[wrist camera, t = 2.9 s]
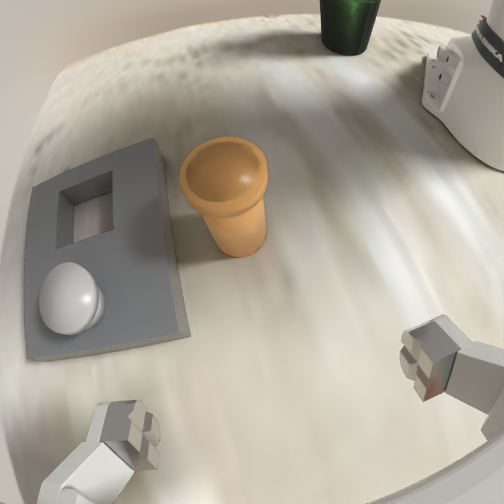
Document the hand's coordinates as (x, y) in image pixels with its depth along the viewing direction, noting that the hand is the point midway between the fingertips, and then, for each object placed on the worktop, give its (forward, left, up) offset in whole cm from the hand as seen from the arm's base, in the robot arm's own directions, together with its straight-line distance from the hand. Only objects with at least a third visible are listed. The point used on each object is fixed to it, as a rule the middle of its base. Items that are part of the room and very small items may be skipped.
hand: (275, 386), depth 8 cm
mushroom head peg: (-10, -6, -14) cm, 18 cm away
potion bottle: (-42, 0, -14) cm, 45 cm away
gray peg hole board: (-5, -18, -14) cm, 23 cm away
